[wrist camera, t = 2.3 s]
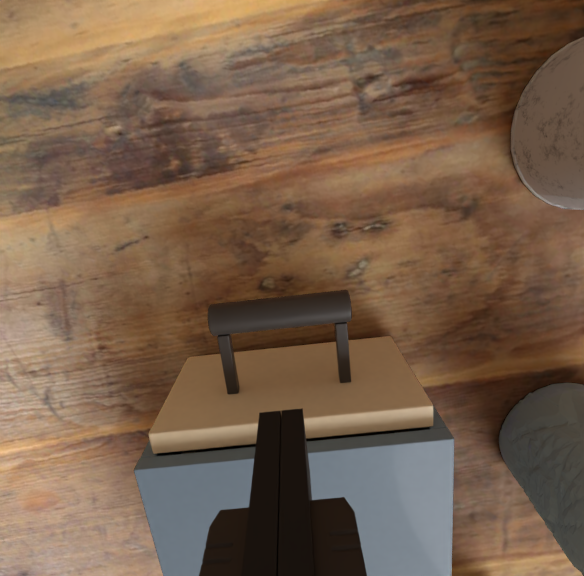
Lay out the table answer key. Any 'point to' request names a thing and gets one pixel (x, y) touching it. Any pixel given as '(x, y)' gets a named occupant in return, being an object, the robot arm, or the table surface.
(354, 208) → the table surface
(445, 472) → the cabinet
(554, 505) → the grey green cup
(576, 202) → the unlabelled tin can
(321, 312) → the drawer
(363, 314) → the table surface
